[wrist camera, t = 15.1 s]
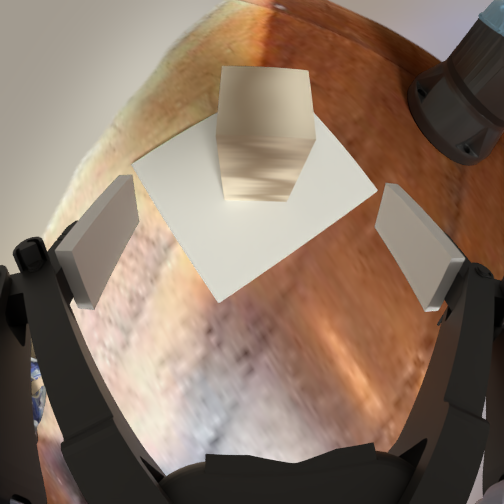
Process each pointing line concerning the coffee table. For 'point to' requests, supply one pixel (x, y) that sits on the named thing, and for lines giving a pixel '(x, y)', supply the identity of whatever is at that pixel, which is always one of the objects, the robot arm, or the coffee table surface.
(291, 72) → the birch block
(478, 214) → the coffee table surface
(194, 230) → the mat
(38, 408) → the snack package
